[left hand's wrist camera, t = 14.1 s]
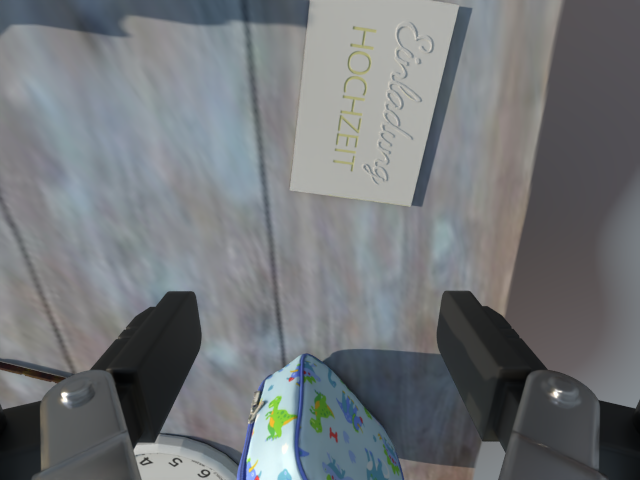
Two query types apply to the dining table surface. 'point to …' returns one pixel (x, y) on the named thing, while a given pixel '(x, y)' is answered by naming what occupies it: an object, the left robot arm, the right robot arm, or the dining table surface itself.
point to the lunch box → (313, 430)
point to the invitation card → (369, 96)
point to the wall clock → (182, 460)
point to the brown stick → (30, 373)
